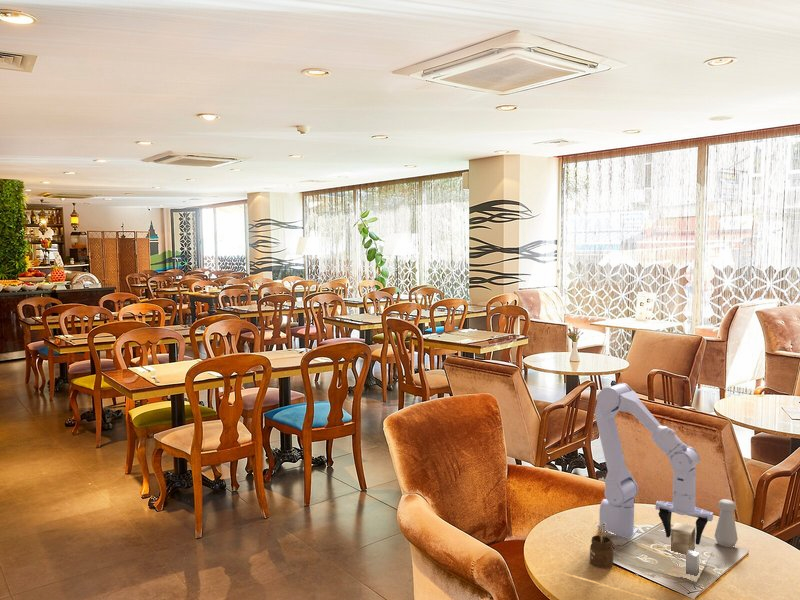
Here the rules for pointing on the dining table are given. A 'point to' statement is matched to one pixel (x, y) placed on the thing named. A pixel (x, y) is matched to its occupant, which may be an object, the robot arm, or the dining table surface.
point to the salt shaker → (726, 524)
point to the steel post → (692, 562)
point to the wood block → (682, 538)
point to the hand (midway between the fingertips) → (683, 539)
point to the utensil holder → (601, 550)
